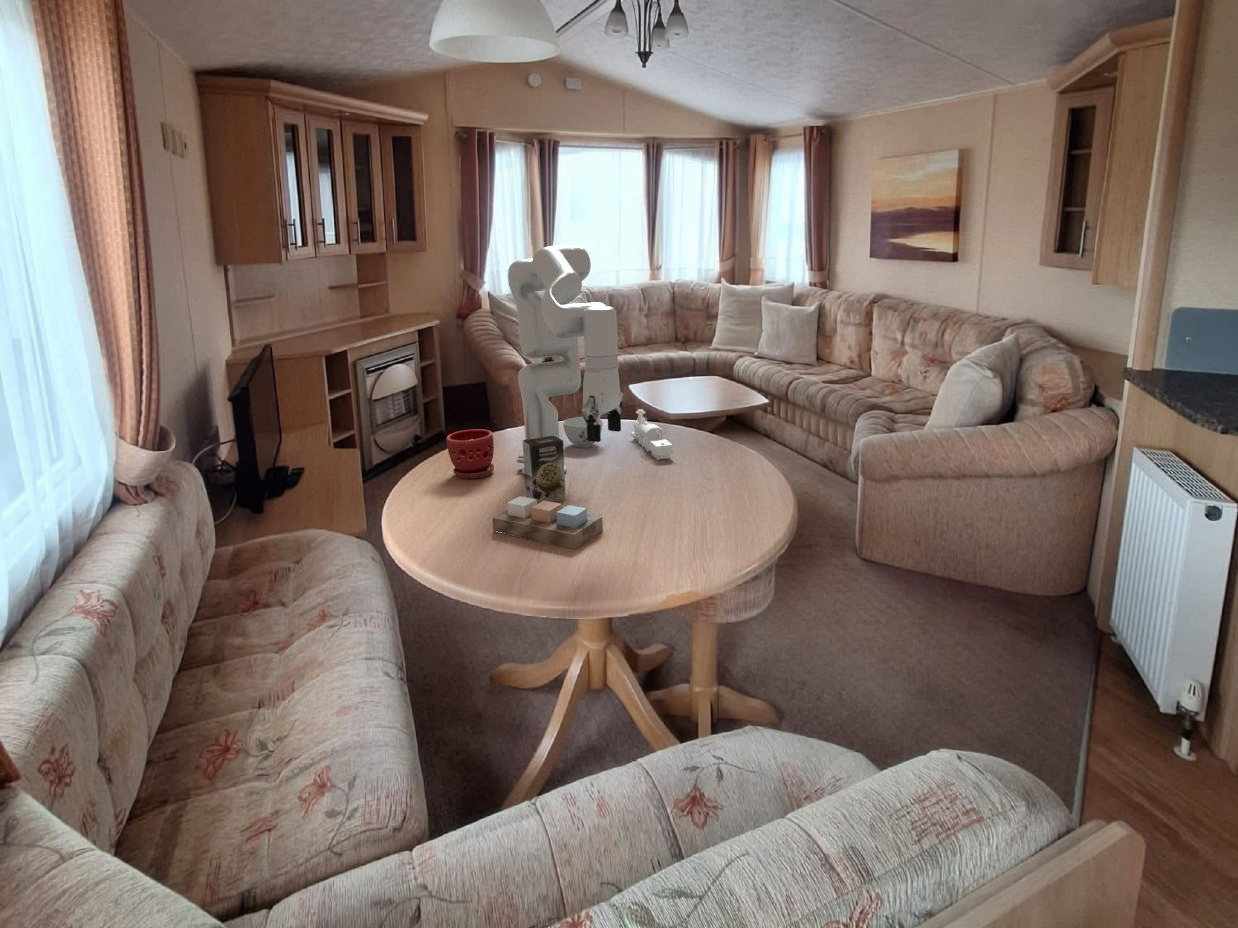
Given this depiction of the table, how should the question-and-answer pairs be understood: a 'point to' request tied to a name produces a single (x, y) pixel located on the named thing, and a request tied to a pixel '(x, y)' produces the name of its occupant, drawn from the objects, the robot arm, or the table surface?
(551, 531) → the key panel
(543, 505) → the key terracotta
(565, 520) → the key blue
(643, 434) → the toy train
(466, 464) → the plant pot
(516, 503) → the key white
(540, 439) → the coffee box
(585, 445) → the teacup
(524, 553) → the table surface
